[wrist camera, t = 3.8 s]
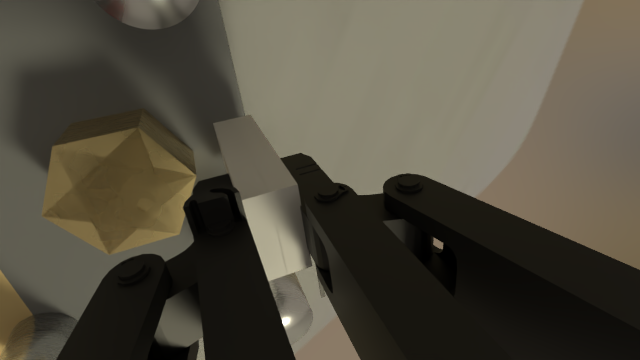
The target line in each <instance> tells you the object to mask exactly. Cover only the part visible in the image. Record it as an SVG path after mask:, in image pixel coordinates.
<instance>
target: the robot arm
mask: <svg viewBox="0 0 640 360" xmlns="http://www.w3.org/2000/svg"><path fill="white" fill-rule="evenodd" d="M213 125H214V128H215V132H216V136H217V139H218V143H219V146H220V150H221V153H222V157H223V161H224V164H225V168H226V171H227V174H224V175H220V176H216V177H213V178H209V179H205V180H201V181H198V183H197V184H196V186H195V187H194V189H193V195H192V196H190V197H189V198H188V199H187V200H186V201H185V203H184V206H183V210H184V212H185V215H186V218H187V221H188V223H189V226H190V229H191V232H192V234H193V239H194V242H193V243H192V244H191V245H190V246H189V247H188V248H187V249H186V250H185V251H183V252H182V253H180V254H178V255H177V256H175V257H173V258H171V259H169V260H167V261H164V259H163V258H162V257H161V256H159V255H156V254H141V255H138V256H134V257H131V258H128V259H127V260H124V261H122V262H120V263H119V264H118V265H116V266H115V267H114V268H112V269H111V270H110V271H109V272H108V273H107V274H106V275H105V277H104V278H103V279H102V281H101V282H100V284H99V286H98V288H97V289H96V291H95V293H94V295H93V296H92V298H91V300H90V302H89V303H88V305H87V307H86V309H85V310H84V312H83V314H82V315H81V317H80V319H79V321H78V322H77V324H76V326H75V328H74V329H73V331H72V333H71V335H70V336H69V338H68V340H67V341H66V343H65V345H64V347H63V348H62V350H61V352H60V354H59V355H58V357H57V359H56V360H196V359H197V354H198V349H199V341H198V340H199V339H200V338H202V337H203V341H204V351H205V360H296V359H295V356H294V353H293V351H292V348H291V345H290V342H289V339H288V336H287V333H286V330H285V328H284V325H283V322H282V319H281V316H280V313H279V310H278V307H277V305H276V302H275V299H274V296H273V293H272V290H271V287H270V284H269V282H268V281H271V280H274V279H276V278H279V277H282V276H285V275H288V274H291V273H294V272H297V271H299V270H302V269H305V268H308V267H311V266H312V262H311V257H310V254H311V256H312V258H313V259H314V261H315V264H316V270H317V276H318V282H319V288H320V293H321V298H322V297H325V292H326V294H327V296H328V298H329V300H330V302H331V304H332V306H333V307H334V309H335V311H336V313H337V315H338V317H339V319H340V321H341V323H342V325H343V327H344V328H345V330H346V332H347V334H348V336H349V338H350V340H351V342H352V344H353V346H354V348H355V350H356V352H357V353H358V356H359V357H360V359H361V360H640V270H639V269H636V268H634V267H631V266H630V265H627V264H625V263H623V262H620V261H618V260H616V259H613V258H611V257H609V256H606V255H604V254H602V253H600V252H597V251H595V250H593V249H590V248H588V247H586V246H584V245H581V244H579V243H577V242H574V241H572V240H570V239H568V238H565V237H563V236H561V235H558V234H556V233H554V232H551V231H549V230H547V229H545V228H542V227H540V226H537V225H535V224H533V223H531V222H528V221H526V220H524V219H522V218H519V217H517V216H515V215H512V214H510V213H508V212H506V211H503V210H501V209H499V208H496V207H494V206H492V205H489V204H487V203H485V202H483V201H480V200H478V199H476V198H473V197H471V196H469V195H467V194H464V193H462V192H460V191H457V190H455V189H453V188H450V187H448V186H446V185H444V184H441V183H439V182H437V181H434V180H432V179H430V178H428V177H425V176H421V175H417V174H400V175H397V176H394V177H391V178H390V179H388V180H387V181H385V183H384V185H383V193H382V194H373V195H357V194H356V193H355V192H354V190H353V189H352V188H350V187H349V186H347V185H345V184H341V183H333V182H332V180H331V179H330V178H329V177H328V176H327V175H326V174H325V172H324V171H323V170H321V168H320V167H319V166H318V165H317V164H316V162H315V161H314V160H313V159H312V158H311V157H310V156H307V155H304V154H302V153H299V154H295V155H291V156H287V157H284V158H279V156H278V155H277V153H276V152H275V150H274V149H273V147H272V146H271V144H270V143H269V141H268V140H267V138H266V137H265V136H264V134H263V133H262V131H261V130H260V128H259V127H258V125H257V124H256V122H255V121H254V119H253V118H252V116H251V115H247V116H242V117H238V118H234V119H229V120H225V121H221V122H216V123H213ZM433 237H434V238H436V239H438V240H439V241H441V242H443V250H442V249H439V248H437V247H435V246H434V245H433ZM324 290H325V292H324Z"/></svg>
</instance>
